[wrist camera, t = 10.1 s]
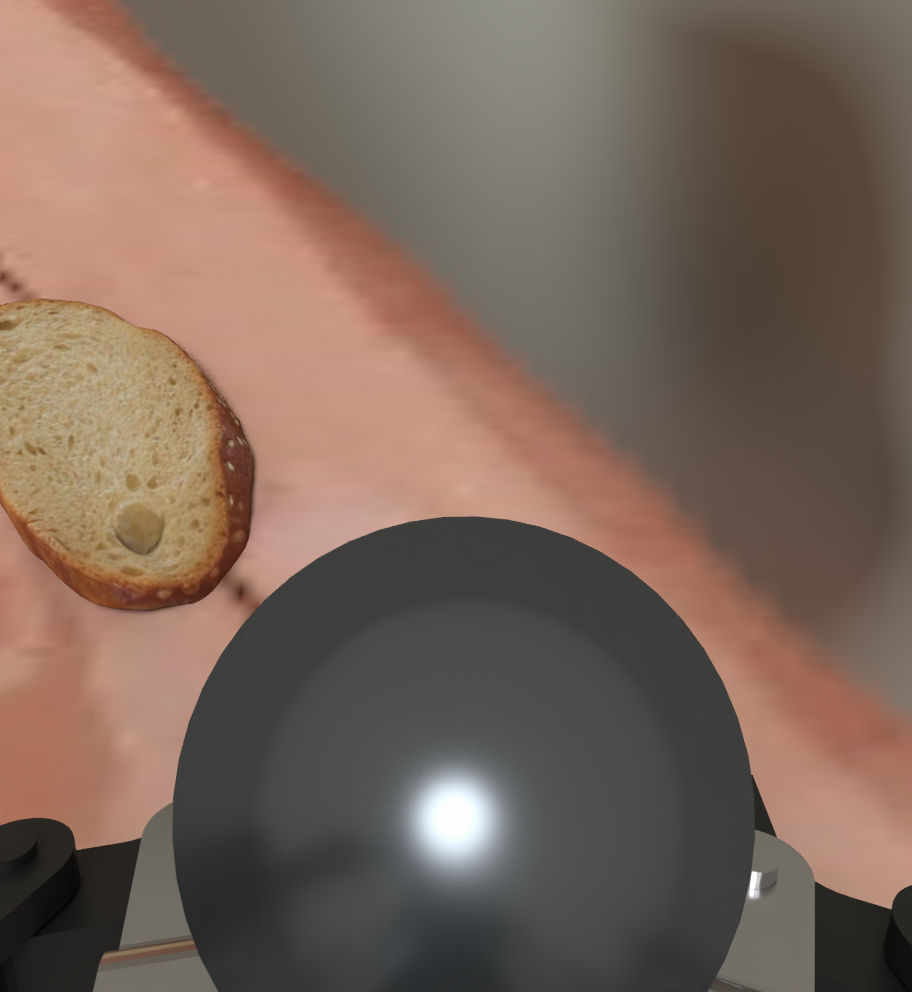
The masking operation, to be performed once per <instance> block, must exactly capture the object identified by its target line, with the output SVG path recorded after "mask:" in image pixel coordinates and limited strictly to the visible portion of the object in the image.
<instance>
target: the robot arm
mask: <svg viewBox="0 0 912 992" xmlns="http://www.w3.org/2000/svg"><path fill="white" fill-rule="evenodd" d="M750 771H751V770H750ZM751 778H752V784H753V791H754V812H755V842H754V852H753V861H752V870H751V879H750V883H749V888H748V892H747V896H746V900H745V904H744V908H743V912H742V916H741V921H740V923H739V926H738V928H737V931H736V933H735V936H734V939H733V941H732V944H731V946H730V949H729V951H728V954H727V957H726V959H725V962H724V963H723V965H722V967H721V969H720V970H719V972H718V974H717V976H716V978H715V979H714V981H713V983H712V985H711V987H710V988H709V990H708V992H912V885H911V886H908V887H906V888H904V889H902V890H901V891H900V892H899V893H898V894H897V895H896V897H895V899H894V901H893V905H892V910H891V909H888V908H885V907H881V906H878V905H875V904H871V903H868V902H865V901H862V900H858V899H855V898H852V897H848V896H846V895H843V894H840V893H837V892H835V891H833V890H831V889H828V888H826V887H824V886H822V885H821V884H819V883H817V882H815V881H814V875H813V873H812V870H811V868H810V866H809V865H808V863H807V862H806V860H805V859H804V858H803V857H802V856H801V855H800V854H799V853H798V852H797V851H796V850H795V849H794V848H792V847H791V846H790V845H788V844H787V843H785V842H784V841H782V840H780V839H778V838H777V836H776V834H775V831H774V829H773V826H772V824H771V821H770V818H769V816H768V813H767V811H766V808H765V806H764V803H763V801H762V798H761V795H760V793H759V790H758V788H757V785H756V783H755V780H754V778H753V775H751ZM172 829H173V803H171V804H169V805H167V806H166V807H164V808H163V809H161V810H160V811H159V812H158V813H156V814H155V815H154V816H153V817H152V818H151V820H150V821H149V822H148V823H147V825H146V827H145V828H144V831H143V834H142V838H139V839H136V840H133V841H128V842H123V843H118V844H112V845H105V846H99V847H93V848H87V849H81V850H76V846H75V840H74V836H73V833H72V831H71V830H70V828H69V827H67V826H66V825H65V824H63V823H61V822H59V821H56V820H52V819H46V818H30V819H22V820H17V821H13V822H9V823H6V824H3V825H0V992H218V990H217V989H216V987H215V985H214V983H213V981H212V979H211V977H210V975H209V974H208V972H207V970H206V968H205V966H204V964H203V962H202V960H201V959H200V956H199V953H198V951H197V948H196V945H195V943H194V940H193V937H192V935H191V932H190V929H189V927H188V924H187V921H186V918H185V914H184V910H183V905H182V901H181V897H180V892H179V888H178V884H177V879H176V870H175V860H174V850H173V840H172Z"/></svg>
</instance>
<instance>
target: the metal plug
mask: <svg viewBox="0 0 912 992" xmlns="http://www.w3.org/2000/svg"><path fill="white" fill-rule="evenodd" d="M172 840H173V850H174V860H175V870H176V879H177V884H178V888H179V892H180V897H181V901H182V905H183V910H184V914H185V918H186V921H187V924H188V927H189V929H190V932H191V935H192V937H193V940H194V943H195V945H196V948H197V951H198V953H199V956H200V959H201V960H202V962H203V964H204V966H205V968H206V970H207V972H208V974H209V975H210V977H211V979H212V981H213V983H214V985H215V987H216V989H217V990H218V992H708V990H709V988H710V987H711V985H712V983H713V981H714V979H715V978H716V976H717V974H718V972H719V970H720V969H721V967H722V965H723V963H724V962H725V959H726V957H727V954H728V951H729V949H730V946H731V944H732V941H733V939H734V936H735V933H736V931H737V928H738V926H739V923H740V921H741V916H742V912H743V908H744V904H745V900H746V896H747V892H748V888H749V883H750V879H751V870H752V861H753V852H754V842H755V812H754V791H753V784H752V778H751V771H750V764H749V758H748V753H747V749H746V746H745V742H744V739H743V735H742V732H741V728H740V724H739V721H738V717H737V715H736V713H735V710H734V708H733V705H732V703H731V701H730V698H729V696H728V693H727V691H726V689H725V686H724V684H723V681H722V680H721V678H720V676H719V674H718V673H717V671H716V669H715V667H714V666H713V664H712V662H711V660H710V659H709V657H708V655H707V653H706V652H705V650H704V648H703V647H702V646H701V644H700V643H699V642H698V640H697V639H696V637H695V636H694V635H693V633H692V632H691V631H690V629H689V628H688V627H687V625H686V624H685V623H684V621H683V620H682V619H681V618H680V617H679V616H678V615H677V613H676V612H675V611H674V610H673V609H672V608H671V607H670V606H669V605H668V604H667V603H666V602H665V601H664V600H663V599H662V598H661V597H660V596H659V594H658V593H656V592H655V591H654V590H653V589H652V588H650V587H649V586H648V585H647V584H646V583H644V582H643V581H642V580H641V579H640V578H638V577H637V576H636V575H635V574H634V573H632V572H631V571H630V570H628V569H627V568H625V567H623V566H622V565H620V564H619V563H617V562H616V561H614V560H613V559H611V558H610V557H608V556H606V555H605V554H603V553H602V552H600V551H598V550H596V549H594V548H592V547H589V546H587V545H585V544H583V543H581V542H579V541H577V540H575V539H573V538H571V537H568V536H565V535H562V534H559V533H557V532H554V531H551V530H548V529H545V528H542V527H539V526H534V525H530V524H525V523H521V522H516V521H511V520H506V519H495V518H485V517H441V518H434V519H427V520H420V521H412V522H408V523H404V524H400V525H396V526H392V527H389V528H385V529H381V530H378V531H375V532H373V533H370V534H368V535H365V536H362V537H360V538H357V539H355V540H352V541H350V542H347V543H346V544H344V545H342V546H340V547H338V548H336V549H334V550H332V551H331V552H329V553H327V554H325V555H323V556H321V557H319V558H318V559H316V560H315V561H313V562H312V563H311V564H309V565H308V566H306V567H305V568H303V569H302V570H300V571H299V572H298V573H296V574H295V575H293V576H292V577H290V578H289V579H288V580H287V581H286V582H285V583H284V584H282V585H281V586H280V587H279V588H278V589H277V590H276V591H275V592H273V593H272V594H271V595H270V596H269V597H268V598H267V599H265V600H264V602H263V603H262V604H261V605H260V606H259V607H258V608H257V609H256V610H255V612H254V613H253V614H252V615H251V616H250V617H249V618H248V619H247V620H246V622H245V623H244V624H243V625H242V626H241V627H240V629H239V630H238V632H237V633H236V634H235V636H234V637H233V639H232V640H231V641H230V643H229V644H228V646H227V647H226V649H225V650H224V651H223V653H222V654H221V656H220V658H219V659H218V661H217V663H216V665H215V667H214V668H213V670H212V672H211V674H210V676H209V678H208V679H207V681H206V683H205V685H204V687H203V689H202V691H201V694H200V696H199V699H198V701H197V704H196V706H195V709H194V711H193V714H192V716H191V719H190V721H189V724H188V728H187V732H186V735H185V739H184V743H183V746H182V750H181V754H180V757H179V763H178V769H177V776H176V783H175V790H174V796H173V829H172Z"/></svg>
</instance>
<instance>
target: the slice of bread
mask: <svg viewBox="0 0 912 992" xmlns="http://www.w3.org/2000/svg"><path fill="white" fill-rule="evenodd" d="M252 465H253V464H252V455H251V452H250V449H249V447H248V444H247V442H246V440H245V438H244V435H243V432H242V429H241V426H240V422H239V420H238V418H237V417H236V415H235V414H234V413H233V412H232V410H231V409H230V407H229V405H228V404H227V402H226V401H225V399H224V398H223V397H222V396H221V395H220V393H219V392H218V391H217V390H216V388H215V387H214V386H213V385H212V383H211V381H210V380H209V379H208V378H207V377H206V376H205V375H204V373H203V371H202V370H201V368H200V367H199V365H198V364H197V363H196V362H195V361H194V360H193V359H192V358H191V357H190V356H189V355H188V354H187V353H186V352H185V351H184V350H183V349H182V348H181V347H180V346H179V345H177V344H176V343H175V342H174V341H173V340H171V339H170V338H169V337H168V336H166V335H165V334H163V333H161V332H159V331H156V330H153V329H146V328H140V327H136V326H133V325H131V324H129V323H127V322H125V321H124V320H123V319H122V318H120V317H119V316H118V315H116V314H115V313H113V312H112V311H110V310H107V309H105V308H102V307H99V306H95V305H90V304H86V303H83V302H78V301H62V300H52V299H42V298H37V299H31V300H24V301H17V302H12V303H7V304H3V305H0V503H1V505H2V506H3V508H4V509H5V511H6V512H7V514H8V516H9V518H10V519H11V521H12V523H13V525H14V526H15V528H16V530H17V531H18V533H19V535H20V536H21V538H22V540H23V541H24V542H25V544H26V545H27V547H28V548H29V549H30V550H31V551H32V553H33V554H34V555H35V556H36V557H38V558H39V559H41V560H43V561H44V562H45V563H46V564H47V565H48V566H49V568H50V569H51V570H52V571H53V572H54V573H55V574H56V575H57V576H58V577H59V578H60V579H61V580H62V581H63V582H64V583H65V584H66V585H67V586H69V587H70V588H71V589H72V590H74V591H75V592H76V593H77V594H79V595H80V596H82V597H83V598H85V599H87V600H88V601H90V602H92V603H95V604H97V605H102V606H107V607H111V608H118V609H130V610H150V609H156V608H161V607H165V606H170V605H180V604H192V603H195V602H198V601H200V600H201V599H203V598H205V597H206V596H207V595H208V594H210V593H211V592H212V591H213V590H214V589H215V587H216V586H217V585H218V584H219V582H220V581H221V580H222V578H223V577H224V576H225V575H226V574H227V572H228V571H229V570H230V569H231V567H232V566H233V565H234V564H235V562H236V561H237V559H238V558H239V557H240V555H241V554H242V552H243V551H244V549H245V547H246V545H247V542H248V539H249V515H250V510H249V508H250V488H251V481H252Z"/></svg>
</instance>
